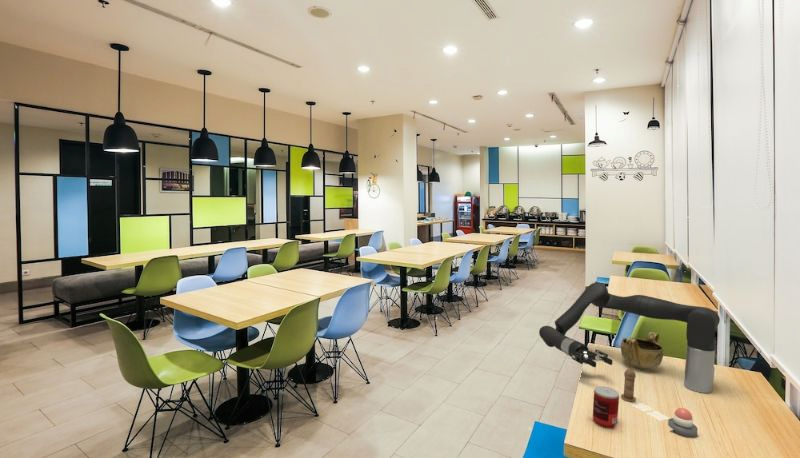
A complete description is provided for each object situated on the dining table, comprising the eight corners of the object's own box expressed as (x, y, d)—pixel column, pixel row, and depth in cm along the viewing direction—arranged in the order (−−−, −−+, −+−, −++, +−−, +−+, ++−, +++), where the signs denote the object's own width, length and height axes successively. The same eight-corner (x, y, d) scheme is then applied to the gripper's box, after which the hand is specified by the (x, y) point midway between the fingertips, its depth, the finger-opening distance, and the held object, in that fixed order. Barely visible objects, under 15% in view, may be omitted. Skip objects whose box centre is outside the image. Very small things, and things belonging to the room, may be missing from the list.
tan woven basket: (646, 379, 173) (649, 345, 172) (608, 364, 187) (610, 333, 186) (672, 368, 184) (674, 336, 183) (634, 355, 199) (636, 326, 198)
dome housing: (678, 422, 139) (679, 416, 139) (702, 435, 132) (703, 429, 132) (662, 425, 137) (662, 420, 137) (685, 439, 129) (686, 433, 129)
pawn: (627, 395, 156) (629, 366, 155) (639, 401, 151) (641, 371, 150) (617, 397, 154) (619, 368, 153) (629, 403, 150) (631, 373, 149)
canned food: (615, 418, 141) (617, 387, 140) (619, 430, 134) (621, 398, 133) (591, 413, 144) (592, 384, 143) (593, 425, 136) (595, 394, 135)
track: (628, 396, 157) (628, 393, 157) (674, 421, 140) (674, 418, 140) (613, 399, 154) (613, 396, 154) (657, 425, 137) (658, 422, 137)
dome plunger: (680, 417, 137) (681, 403, 137) (696, 426, 133) (697, 411, 132) (669, 420, 136) (670, 406, 135) (685, 428, 131) (686, 414, 130)
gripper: (586, 355, 181) (616, 370, 166) (560, 358, 176) (589, 374, 161) (587, 339, 180) (617, 353, 165) (561, 342, 176) (590, 356, 160)
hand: (603, 363), depth 163 cm, fingers open, 8 cm apart
